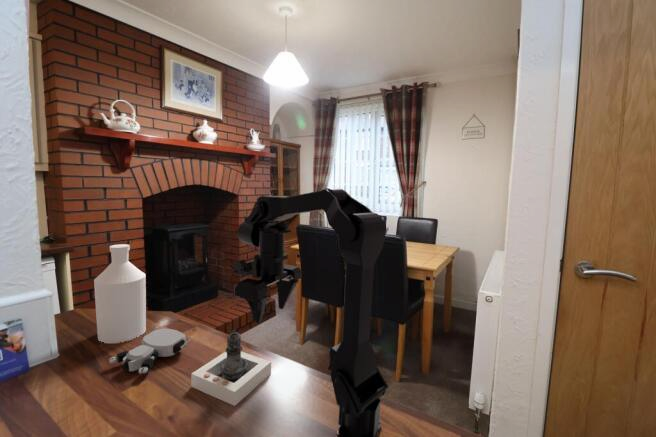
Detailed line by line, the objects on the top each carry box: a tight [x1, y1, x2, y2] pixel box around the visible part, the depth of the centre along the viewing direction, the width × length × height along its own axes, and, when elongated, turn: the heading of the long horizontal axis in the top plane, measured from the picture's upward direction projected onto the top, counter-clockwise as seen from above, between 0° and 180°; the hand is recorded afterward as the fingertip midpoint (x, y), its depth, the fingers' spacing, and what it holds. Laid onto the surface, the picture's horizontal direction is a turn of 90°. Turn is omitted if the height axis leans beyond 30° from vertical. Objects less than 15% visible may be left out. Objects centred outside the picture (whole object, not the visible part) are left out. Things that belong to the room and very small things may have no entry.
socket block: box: [190, 351, 272, 407], centre depth 70 cm, size 12×12×3 cm
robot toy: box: [108, 326, 194, 374], centre depth 77 cm, size 12×4×15 cm
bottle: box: [93, 243, 147, 344], centre depth 87 cm, size 12×12×25 cm
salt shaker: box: [220, 328, 247, 383], centre depth 70 cm, size 6×6×12 cm
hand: (270, 315), depth 74 cm, fingers open, 9 cm apart
